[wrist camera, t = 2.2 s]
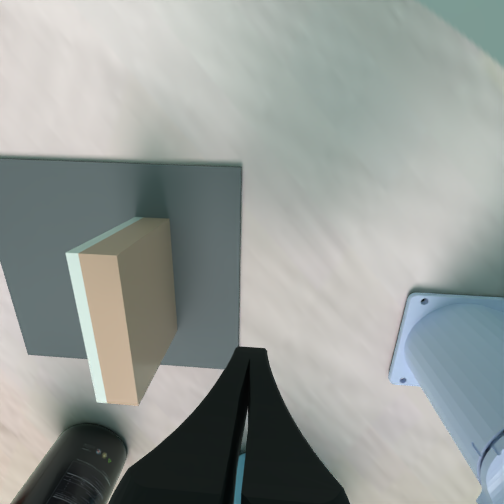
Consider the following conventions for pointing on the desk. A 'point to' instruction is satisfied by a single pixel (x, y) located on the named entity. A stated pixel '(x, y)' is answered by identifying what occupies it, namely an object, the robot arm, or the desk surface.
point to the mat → (106, 218)
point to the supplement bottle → (76, 468)
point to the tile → (125, 305)
